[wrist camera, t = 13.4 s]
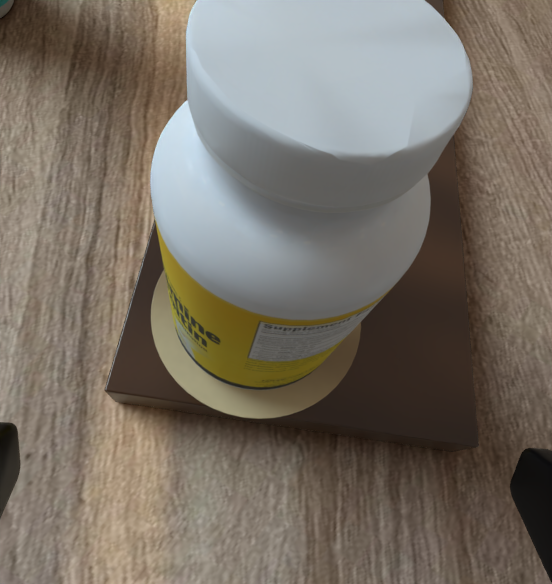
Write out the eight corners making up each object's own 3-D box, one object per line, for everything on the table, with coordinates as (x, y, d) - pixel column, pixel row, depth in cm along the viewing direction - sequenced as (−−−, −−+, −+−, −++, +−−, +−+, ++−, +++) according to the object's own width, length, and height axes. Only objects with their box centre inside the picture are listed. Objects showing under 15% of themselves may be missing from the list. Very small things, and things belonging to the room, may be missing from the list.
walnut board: (452, 457, 18) (481, 452, 16) (113, 406, 17) (101, 396, 15) (426, -19, 33) (439, -50, 31) (244, -63, 32) (247, -97, 30)
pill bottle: (190, 231, 18) (171, -111, 8) (338, 256, 19) (502, -34, 9) (156, 383, 16) (57, 158, 5) (331, 407, 16) (563, 248, 6)
